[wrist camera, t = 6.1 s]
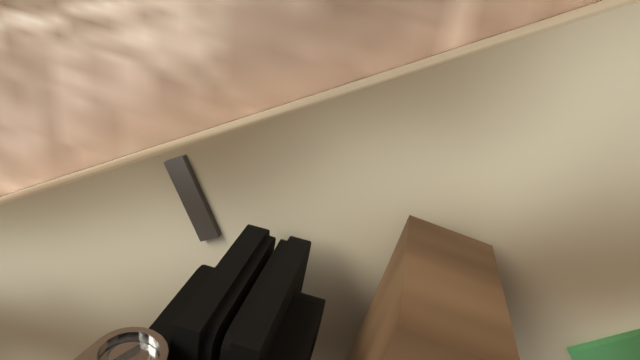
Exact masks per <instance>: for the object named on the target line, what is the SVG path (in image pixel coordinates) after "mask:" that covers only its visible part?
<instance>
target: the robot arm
mask: <svg viewBox="0 0 640 360" xmlns="http://www.w3.org/2000/svg"><path fill="white" fill-rule="evenodd" d="M275 242H276V238H275V237H273V236H270V231H269V230H268V229H265V228H261V227H257V226H254V225H250V224H248V225H247V226H246V227H245V229H244V230H243V231H242V233H241V234H240V235H239V236H238V238H237V239H236V240H235V242H234V243H233V244H232V246H231V247H230V248H229V250H228V251H227V252H226V254H225V255H224V256H223V257H222V259H221V260H220V261H219V263H218V264H217V265H216V267H211V266H208V265H201V266H200V267H199V268H198V269H197V270H196V271H195V272H194V274H193V275H192V276H191V277H190V278H189V280H188V281H187V282H186V283H185V285H184V286H183V287H182V288H181V289H180V291H179V292H178V293H177V294H176V296H175V297H174V298H173V299H172V300H171V302H170V303H169V304H168V305H167V306H166V308H165V309H164V310H163V311H162V313H161V314H160V315H159V316H158V317H157V319H156V320H155V321H154V322H153V324H152V325H151V326H150V327H149V328H144V327H126V328H120V329H117V330H114V331H111V332H109V333H107V334H106V335H104V336H102V337H101V338H99V339H98V340H97V341H96V342H94V343H93V344H92V345H91V346H89V347H88V348H87V349H86V350H85V351H83V352H82V353H81V354H80V355H78V356H77V357H76V358H75V359H74V360H311V357H312V353H313V350H314V346H315V343H316V339H317V335H318V332H319V328H320V324H321V319H322V315H323V311H324V307H325V302H326V300H325V299H322V298H319V297H315V296H312V295H308V294H305V293H301V292H302V287H303V282H304V277H305V272H306V267H307V263H308V258H309V253H310V248H311V241H308V240H305V239H301V238H297V237H294V236H290V237H289V239H288V240H283V239H281V240H280V241H279V243H278V244H277V246H276V248H275ZM274 248H275V250H274Z"/></svg>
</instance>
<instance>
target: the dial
mask: <svg viewBox="0 0 640 360" xmlns="http://www.w3.org/2000/svg"><path fill="white" fill-rule="evenodd" d="M346 360H520V357H519V353H518V349H517V345H516V341H515V337H514V333H513V329H512V324H511V320H510V316H509V312H508V308H507V304H506V300H505V295H504V291H503V287H502V283H501V279H500V275H499V271H498V266H497V262H496V258H495V254H494V250H493V246H492V245H489V244H487V243H484V242H481V241H479V240H476V239H473V238H470V237H468V236H465V235H462V234H460V233H457V232H454V231H452V230H449V229H446V228H443V227H441V226H438V225H435V224H433V223H430V222H427V221H425V220H422V219H419V218H416V217H414V216H411V215H409V217H408V219H407V222H406V224H405V226H404V228H403V231H402V233H401V235H400V238H399V240H398V242H397V245H396V247H395V249H394V251H393V254H392V256H391V258H390V261H389V263H388V265H387V267H386V270H385V272H384V274H383V277H382V279H381V281H380V284H379V286H378V288H377V290H376V293H375V295H374V297H373V300H372V302H371V304H370V306H369V309H368V311H367V313H366V316H365V318H364V320H363V322H362V325H361V327H360V329H359V332H358V334H357V336H356V339H355V341H354V343H353V345H352V348H351V350H350V352H349V355H348V357H347V359H346Z"/></svg>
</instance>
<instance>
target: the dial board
mask: <svg viewBox="0 0 640 360" xmlns="http://www.w3.org/2000/svg"><path fill="white" fill-rule="evenodd" d="M409 215H411V216H414V217H416V218H419V219H422V220H425V221H427V222H430V223H433V224H435V225H438V226H441V227H443V228H446V229H449V230H452V231H454V232H457V233H460V234H462V235H465V236H468V237H470V238H473V239H476V240H479V241H481V242H484V243H487V244H489V245H492V246H493V250H494V254H495V258H496V262H497V266H498V271H499V275H500V279H501V283H502V287H503V291H504V295H505V300H506V304H507V308H508V312H509V316H510V320H511V324H512V329H513V333H514V337H515V341H516V345H517V349H518V353H519V357H520V360H640V0H603V1H600V2H597V3H594V4H591V5H588V6H585V7H582V8H579V9H575V10H572V11H569V12H566V13H563V14H560V15H557V16H554V17H551V18H548V19H545V20H542V21H539V22H536V23H532V24H529V25H526V26H523V27H520V28H517V29H514V30H511V31H508V32H505V33H502V34H499V35H496V36H493V37H489V38H486V39H483V40H480V41H477V42H474V43H471V44H468V45H465V46H462V47H459V48H456V49H453V50H450V51H447V52H443V53H440V54H437V55H434V56H431V57H428V58H425V59H422V60H419V61H416V62H413V63H410V64H407V65H404V66H400V67H397V68H394V69H391V70H388V71H385V72H382V73H379V74H376V75H373V76H370V77H367V78H364V79H361V80H357V81H354V82H351V83H348V84H345V85H342V86H339V87H336V88H333V89H330V90H327V91H324V92H321V93H318V94H314V95H311V96H308V97H305V98H302V99H299V100H296V101H293V102H290V103H287V104H284V105H281V106H278V107H275V108H271V109H268V110H265V111H262V112H259V113H256V114H253V115H250V116H247V117H244V118H241V119H238V120H235V121H232V122H229V123H225V124H222V125H219V126H216V127H213V128H210V129H207V130H204V131H201V132H198V133H195V134H192V135H189V136H186V137H182V138H179V139H176V140H173V141H170V142H167V143H164V144H161V145H158V146H155V147H152V148H149V149H146V150H143V151H139V152H136V153H133V154H130V155H127V156H124V157H121V158H118V159H115V160H112V161H109V162H106V163H103V164H100V165H96V166H93V167H90V168H87V169H84V170H81V171H78V172H75V173H72V174H69V175H66V176H63V177H60V178H57V179H54V180H50V181H47V182H44V183H41V184H38V185H35V186H32V187H29V188H26V189H23V190H20V191H17V192H14V193H11V194H7V195H4V196H1V197H0V360H74V359H75V358H76V357H77V356H78V355H80V354H81V353H82V352H83V351H85V350H86V349H87V348H88V347H89V346H91V345H92V344H93V343H94V342H96V341H97V340H98V339H99V338H101V337H102V336H104V335H106V334H107V333H109V332H111V331H114V330H117V329H120V328H126V327H144V328H149V327H150V326H151V325H152V324H153V322H154V321H155V320H156V319H157V317H158V316H159V315H160V314H161V313H162V311H163V310H164V309H165V308H166V306H167V305H168V304H169V303H170V302H171V300H172V299H173V298H174V297H175V296H176V294H177V293H178V292H179V291H180V289H181V288H182V287H183V286H184V285H185V283H186V282H187V281H188V280H189V278H190V277H191V276H192V275H193V274H194V272H195V271H196V270H197V269H198V268H199V267H200V266H201V265H208V266H211V267H216V265H217V264H218V263H219V261H220V260H221V259H222V257H223V256H224V255H225V254H226V252H227V251H228V250H229V248H230V247H231V246H232V244H233V243H234V242H235V240H236V239H237V238H238V236H239V235H240V234H241V233H242V231H243V230H244V229H245V227H246V226H247V225H248V224H250V225H254V226H257V227H261V228H265V229H268V230H269V231H270V236H273V237H275V238H276V242H275V248H276V246H277V244H278V243H279V241H280V240H281V239H283V240H288V239H289V237H290V236H294V237H297V238H301V239H305V240H308V241H311V248H310V253H309V258H308V263H307V267H306V272H305V277H304V282H303V287H302V292H301V293H305V294H308V295H312V296H315V297H319V298H322V299H325V300H326V302H325V307H324V311H323V315H322V319H321V324H320V328H319V332H318V335H317V339H316V343H315V346H314V350H313V353H312V357H311V360H346V359H347V357H348V355H349V352H350V350H351V348H352V345H353V343H354V341H355V339H356V336H357V334H358V332H359V329H360V327H361V325H362V322H363V320H364V318H365V316H366V313H367V311H368V309H369V306H370V304H371V302H372V300H373V297H374V295H375V293H376V290H377V288H378V286H379V284H380V281H381V279H382V277H383V274H384V272H385V270H386V267H387V265H388V263H389V261H390V258H391V256H392V254H393V251H394V249H395V247H396V245H397V242H398V240H399V238H400V235H401V233H402V231H403V228H404V226H405V224H406V222H407V219H408V217H409ZM275 248H274V250H275Z"/></svg>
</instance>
